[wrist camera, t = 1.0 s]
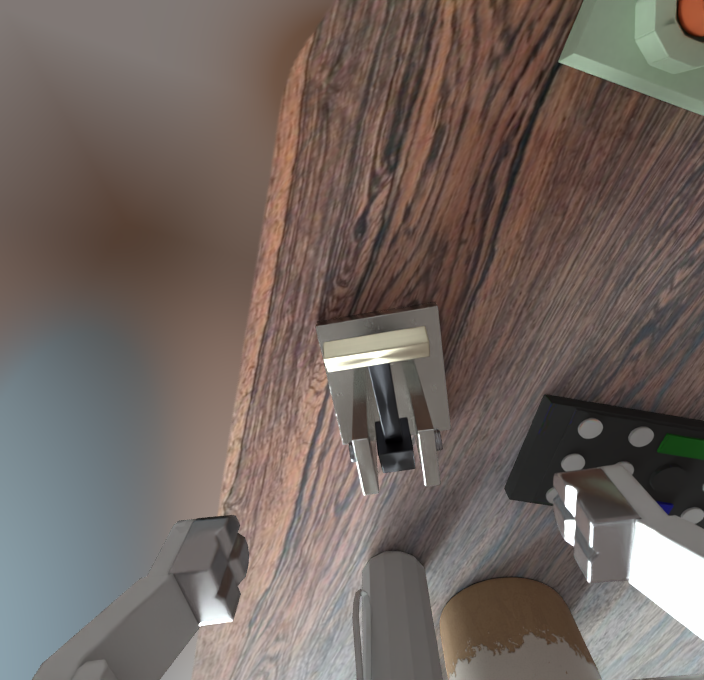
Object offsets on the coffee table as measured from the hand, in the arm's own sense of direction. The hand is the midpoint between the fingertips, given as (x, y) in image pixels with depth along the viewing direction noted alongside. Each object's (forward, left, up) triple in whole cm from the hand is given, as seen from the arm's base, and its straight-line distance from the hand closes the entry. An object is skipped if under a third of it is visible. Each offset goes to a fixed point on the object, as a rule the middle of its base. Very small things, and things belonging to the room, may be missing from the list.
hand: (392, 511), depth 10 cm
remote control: (+34, +11, -24) cm, 43 cm away
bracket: (+8, -4, -24) cm, 26 cm away
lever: (+4, -2, -13) cm, 14 cm away
